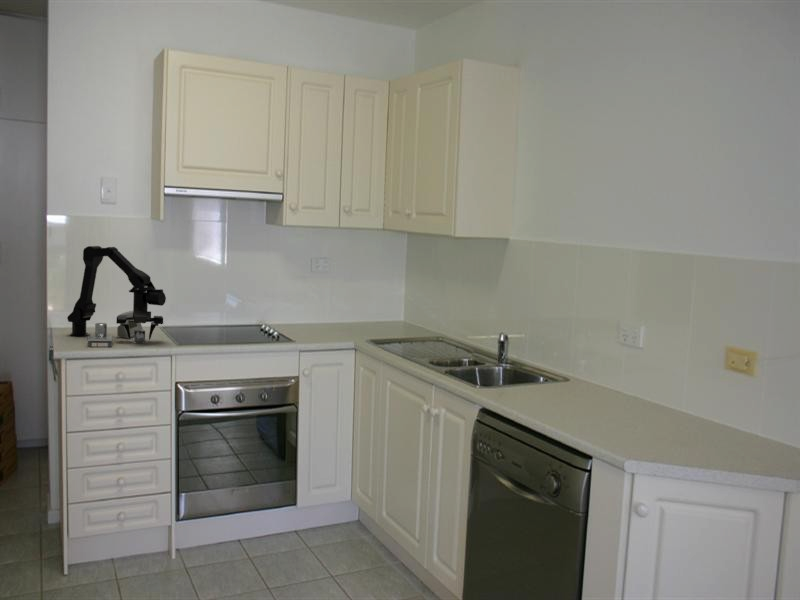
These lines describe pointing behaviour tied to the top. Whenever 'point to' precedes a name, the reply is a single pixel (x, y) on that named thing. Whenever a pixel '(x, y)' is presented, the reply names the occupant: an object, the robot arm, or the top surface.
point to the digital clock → (133, 326)
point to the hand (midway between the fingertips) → (139, 339)
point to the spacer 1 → (100, 329)
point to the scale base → (100, 343)
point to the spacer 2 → (139, 336)
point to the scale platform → (100, 338)
